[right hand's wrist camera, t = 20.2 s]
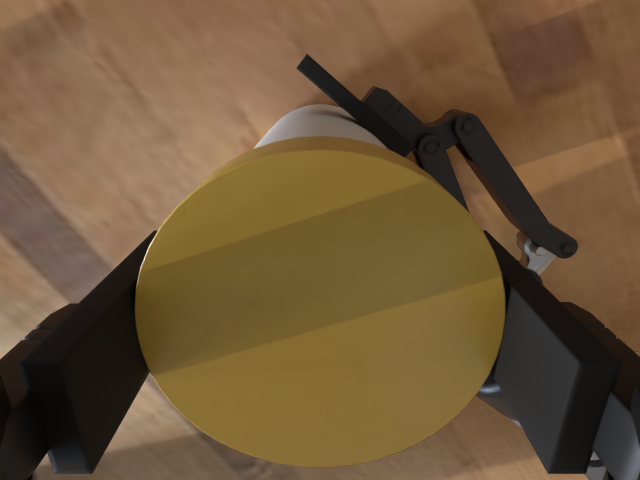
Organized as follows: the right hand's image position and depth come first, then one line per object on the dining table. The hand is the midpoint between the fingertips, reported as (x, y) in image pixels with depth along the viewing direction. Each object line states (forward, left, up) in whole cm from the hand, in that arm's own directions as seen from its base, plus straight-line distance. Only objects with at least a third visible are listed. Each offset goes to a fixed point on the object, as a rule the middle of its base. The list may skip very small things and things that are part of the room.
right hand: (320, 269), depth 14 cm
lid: (0, 0, +3) cm, 3 cm away
